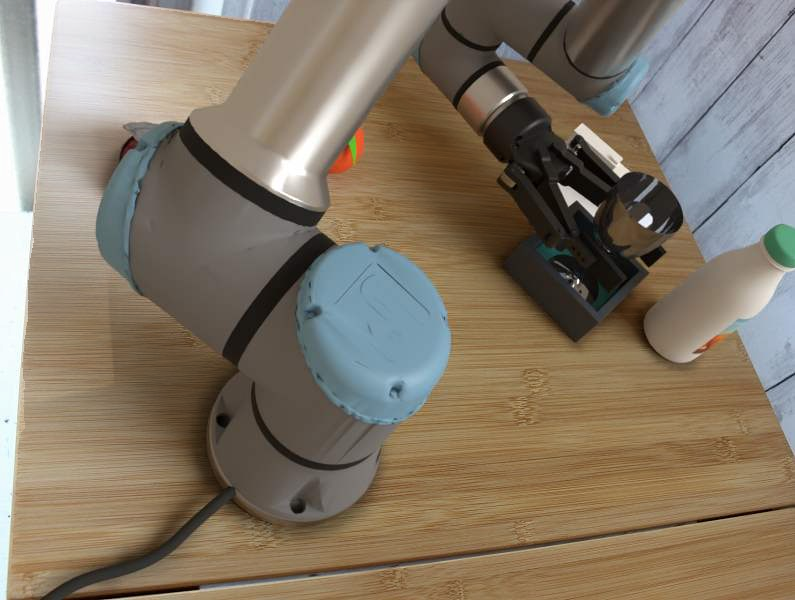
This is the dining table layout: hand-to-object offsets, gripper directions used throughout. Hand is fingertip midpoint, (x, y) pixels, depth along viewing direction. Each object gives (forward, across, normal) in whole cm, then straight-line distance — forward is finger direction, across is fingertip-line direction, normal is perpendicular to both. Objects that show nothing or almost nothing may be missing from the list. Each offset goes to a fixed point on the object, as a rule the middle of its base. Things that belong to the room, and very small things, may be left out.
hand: (637, 272), depth 90 cm
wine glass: (-4, 0, -8) cm, 9 cm away
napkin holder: (-14, -14, -9) cm, 22 cm away
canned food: (-34, +36, -9) cm, 50 cm away
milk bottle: (+7, -8, -9) cm, 14 cm away
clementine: (-30, +18, -9) cm, 36 cm away
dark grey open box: (-5, 0, -9) cm, 10 cm away
